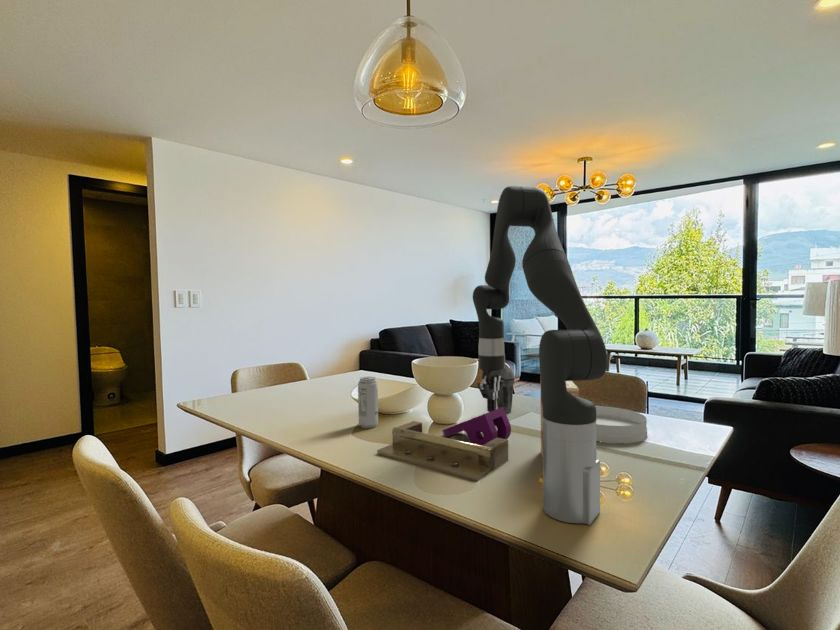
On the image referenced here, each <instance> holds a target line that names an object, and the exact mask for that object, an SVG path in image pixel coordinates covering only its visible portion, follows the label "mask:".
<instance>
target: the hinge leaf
mask: <svg viewBox="0 0 840 630" xmlns="http://www.w3.org/2000/svg"><path fill="white" fill-rule="evenodd" d="M391 434H392V443H391V444H389V445H387V446H384V447H382V448H379V449H377V450H376V454H377V455H379V456H383V457H387V458H390V459H395V460H397V461H398V460H399V461H402V462H406V463H408V462H409V464H413V465H416V464H417V465H416V466H419V465H420V467H423V466H424V468H426V469H430V470H435V471H439V472H442V473H445V474H450V475H453V476H456V477H460V478H464V479H467V480H471V481H475V482H478V481H479V480H481V479H482V478H484V477H486V476H487V475H488V474H490V473H491V472H492V471H494V470H496V469H498V468H499V467H500V466H502V465H504V464H505V463H506V462H508V461H509V439H502V438H495V439H493V440H491V441H490V442H488V443H486V444H484V445H477V444H472V443H470V442H467V441H463V440H458V439H453V438H448V437H444V436H439V435H434V434H431V433H425V432H423V422H420V421H415V420H412V421H409V422H407V423H405V424H401V425H400V426H394V427H393V428H392V430H391Z"/></svg>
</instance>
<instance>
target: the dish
mask: <svg viewBox="0 0 840 630" xmlns="http://www.w3.org/2000/svg"><path fill="white" fill-rule="evenodd" d="M595 406H596V441H601V442H600V443H602V442H607V443H606V444H616V443H624V444H634V442H635V443H639V442H642V441H645V440H646V439H647V438H648V427H647V424H648V421H647V417H646V416H645V415H644V414H642V413H640V412H637V411H635V410H634V411H633V410H630V409H625V408H620V407H614V406H604V405H595Z"/></svg>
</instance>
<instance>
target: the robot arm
mask: <svg viewBox="0 0 840 630" xmlns="http://www.w3.org/2000/svg"><path fill="white" fill-rule="evenodd" d="M555 224H556V223H555V221H554V216H553V213H552V208H551V204H550V201H549V197H548V195H547V193H546V192H545V190H544V189H542V188H541V187H534V186H519V185H518V186H517V185H514V186H513V185H508V186H505V188H504V189H503V190H502V192H501V194H500V197H499V199H498V204H497V209H496V216H495V223H494V231H493V237H492V247H491V252H490V257H489V259H488V260H489V261H488V264H487V267H486V271H485V274H484V281H485V283H486V284H479V285H477V286H476V287H475V288H474V290H473V291H472V301H473V304H474V305H473V306H474V308H475V312H476V315H477V320H478V328H479V329H478V331H479V333H478V337H479V338H478V346H477V347H478V369H479V370H481V371H482V375H481V379H482V381H481V382H478V383H477V388H478V390H479V392H480V394H481V396H482V399H486V401H487V402H486V404H487V405H486V406H487V407H486V408H487V413H488V412H491V411H494V410H496V409H497V398H498V395H499V396H500V394H501V391H502V387H503V384H504V381H505V378H504V377H501V372H500V370H503V369H504V353H505V340H504V339H505V338H504V320H503V319H502V318H501V317H496V316H491V315H490V314H489V312H488V310H502V309H504V308H506V307H507V306H508V304H509V302H510V283H511V282H510V281H511V278H512V276H513V273H514V270H515V267H516V254H515V251H514V248H513V246H512V244H511V242H510V239H509V228H510V227H527V228H532V230H533V231H534V237H532V240H531V241H530V243H529V244H528V247H527V248H526V249H525V252H524V253H523V257H522V261H521V262H522V263H521V266H522V270H523V274H524V278H525V281H526V284H527V287H528V289H529V291H530V292H531V294H532V295H533V296H534V297H535V298H536V299H537V300H538V301H539V302H540V303H541V304H542V305H544V306H545V307H546V308H547V309H548V310H550V311H551V312H552V313H553V314H554V315H555V316H556V317H558V318H559V320H560V321H561V322H562V323H563V325H564V326H565V328H566V329H550V330H546V331H545V332H544V333H543V334H542V336H541V338H540V342H539V344H538V345H539V347H538V357H539V359H538V360H539V361H538V363H539V374H540V376H539V379H540V378H541V398H540V400H541V399H542V408H543V458H542V502H543V503H542V508H543V511H544V513H545V514H546V515H548V517H550V518H552V519H555V520H557V521H560V522H564V523H570V524H586V525H589V526H590V525H592V524H593V522H594V521H595V519H596V518H597V516H598V515H599V514H600V512H601V461H600V459H597V442H596V406H597V405H595V404H594V402H592V401H591V400H588V399H586V398H582V397H580V396H579V397H577V396H574V395H572V394H570V393H569V392H568V391H567V388H566V381H572V382H574V381H577V382H578V381H592V380H598V379H601V378H602V377H604V376H605V374H606V373H607V370H608V366H609V365H608V361H609V360H608V359H609V358H608V352H607V348H606V345H605V342H604V339H603V336H602V334H601V332H600V331H599V328H598V327H597V324H596V323H595V320H594V318H593V316H592V315H591V312H589V309H588V308H587V306H586V304H585V301H584V299H583V297H582V295H581V293H580V289H579V287H578V285H577V283H576V280H575V277H574V273H573V271H572V268H571V267H572V266H571V264H570V262H569V259H568V257H567V255H566V252H565V250H564V248H563V245H562V242H561V239H560V238H559V237H560V236H559V235H558V231H557V229H556V225H555Z"/></svg>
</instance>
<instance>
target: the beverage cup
mask: <svg viewBox="0 0 840 630" xmlns="http://www.w3.org/2000/svg"><path fill="white" fill-rule="evenodd" d="M500 372H501V377H504V378H505V381H504V384H503V387H502V391H501V394H500V396H499V395H498V398H497V399H496V408H497V409H499V408H502V407H503V408H504V410H505V413H506V414H510V413H512V409H513V393H514V385H515V379H516V378H515V374H514V372H513V370H512V369H511V368H510V367H508V366H506V353H505V352H504V369H503V370H500Z"/></svg>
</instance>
